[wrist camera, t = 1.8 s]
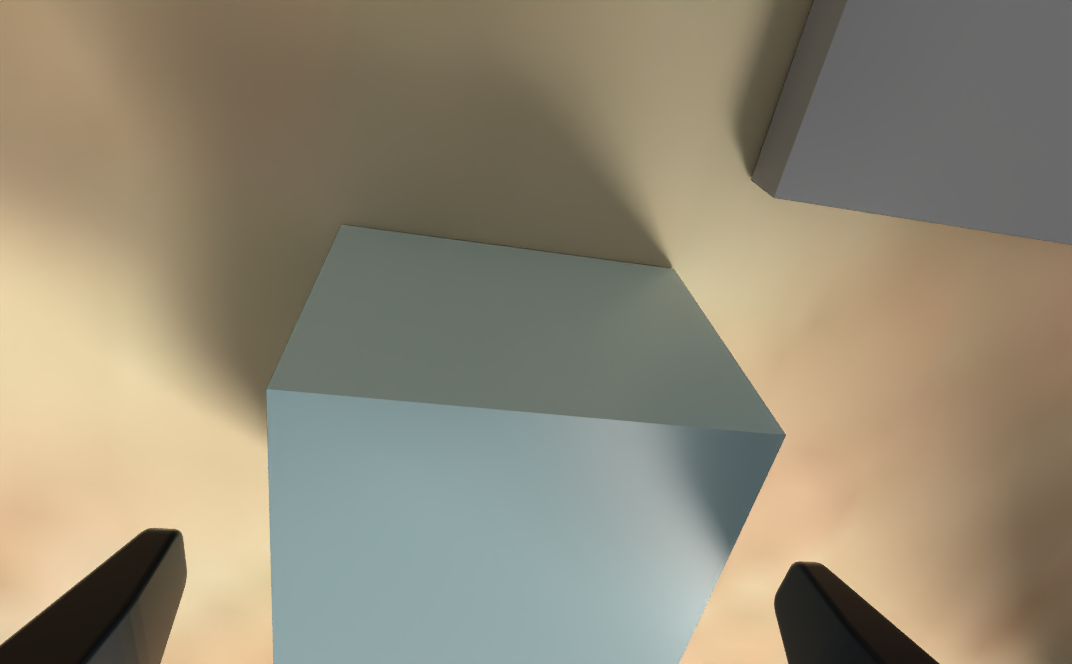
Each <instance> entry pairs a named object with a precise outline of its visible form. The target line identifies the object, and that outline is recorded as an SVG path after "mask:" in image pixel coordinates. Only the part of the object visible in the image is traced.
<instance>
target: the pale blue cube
mask: <svg viewBox="0 0 1072 664" xmlns="http://www.w3.org/2000/svg"><path fill="white" fill-rule="evenodd" d="M266 398H267V436H268V473H269V511H270V549H271V587H272V625H273V662H274V664H679V662H680V660H681V658H682V655H683V653H684V651H685V649H686V647H687V645H688V643H689V641H690V638H691V636H692V634H693V632H694V630H695V628H696V626H697V624H698V621H699V619H700V617H701V615H702V613H703V611H704V609H705V606H706V604H707V602H708V600H709V598H710V596H711V594H712V592H713V589H714V587H715V585H716V583H717V581H718V579H719V577H720V575H721V572H722V570H723V568H724V566H725V564H726V562H727V560H728V557H729V555H730V553H731V551H732V549H733V547H734V545H735V543H736V540H737V538H738V536H739V534H740V532H741V530H742V528H743V526H744V523H745V521H746V519H747V517H748V515H749V513H750V511H751V508H752V506H753V504H754V502H755V500H756V498H757V496H758V494H759V491H760V489H761V487H762V485H763V483H764V481H765V479H766V477H767V474H768V472H769V470H770V468H771V466H772V464H773V462H774V459H775V457H776V455H777V453H778V451H779V449H780V447H781V445H782V442H783V440H784V438H785V436H786V434H785V433H784V431H783V430H782V428H781V427H780V426H779V424H778V423H777V421H776V420H775V418H774V417H773V415H772V414H771V412H770V411H769V409H768V408H767V406H766V405H765V403H764V402H763V400H762V399H761V397H760V396H759V394H758V393H757V391H756V390H755V388H754V387H753V385H752V384H751V382H750V381H749V380H748V378H747V377H746V375H745V374H744V372H743V371H742V369H741V368H740V366H739V365H738V363H737V362H736V360H735V359H734V357H733V356H732V354H731V353H730V351H729V350H728V348H727V347H726V345H725V344H724V342H723V341H722V339H721V338H720V336H719V335H718V333H717V332H716V331H715V329H714V328H713V326H712V325H711V323H710V322H709V320H708V319H707V317H706V316H705V314H704V313H703V311H702V310H701V308H700V307H699V305H698V304H697V302H696V301H695V299H694V298H693V296H692V295H691V293H690V292H689V290H688V289H687V287H686V286H685V285H684V283H683V282H682V280H681V279H680V277H679V276H678V274H677V273H676V271H675V270H674V269H671V268H664V267H656V266H649V265H641V264H634V263H626V262H618V261H611V260H603V259H596V258H588V257H581V256H573V255H566V254H558V253H551V252H543V251H536V250H528V249H521V248H513V247H506V246H498V245H491V244H483V243H476V242H468V241H461V240H453V239H446V238H438V237H431V236H423V235H416V234H408V233H401V232H393V231H386V230H378V229H371V228H363V227H356V226H348V225H341V227H340V229H339V231H338V233H337V236H336V238H335V240H334V242H333V244H332V247H331V249H330V251H329V253H328V255H327V257H326V260H325V262H324V264H323V266H322V268H321V271H320V273H319V275H318V277H317V279H316V281H315V284H314V286H313V288H312V290H311V292H310V295H309V297H308V299H307V301H306V303H305V306H304V308H303V310H302V312H301V314H300V316H299V319H298V321H297V323H296V325H295V327H294V330H293V332H292V334H291V336H290V338H289V340H288V343H287V345H286V347H285V349H284V351H283V354H282V356H281V358H280V360H279V362H278V365H277V367H276V369H275V371H274V373H273V375H272V378H271V380H270V382H269V384H268V386H267V389H266Z"/></svg>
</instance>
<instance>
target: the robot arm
mask: <svg viewBox="0 0 1072 664" xmlns="http://www.w3.org/2000/svg"><path fill="white" fill-rule="evenodd" d="M186 577H187V567H186V559H185V551H184V542H183V536H182V533H181V532H180V531H179V530H176V529H163V528H149V529H146V530H144V531H143V532H141V533H140V534H139V535H137V536H136V537H135V538H134V539H132V540H131V541H130V542H129V543H127V544H126V545H125V546H124V547H122V548H121V549H120V550H119V551H117V552H116V553H115V554H114V555H112V556H111V557H110V558H109V559H107V560H106V561H105V562H104V563H102V564H101V565H100V566H99V567H97V568H96V569H95V570H94V571H92V572H91V573H90V574H89V575H87V576H86V577H85V578H84V579H82V580H81V581H80V582H79V583H77V584H76V585H75V586H74V587H72V588H71V589H70V590H69V591H67V592H66V593H65V594H64V595H62V596H61V597H60V598H59V599H57V600H56V601H55V602H54V603H52V604H51V605H50V606H49V607H47V608H46V609H45V610H44V611H42V612H41V613H40V614H39V615H37V616H36V617H35V618H34V619H32V620H31V621H30V622H29V623H27V624H26V625H25V626H24V627H22V628H21V629H20V630H19V631H17V632H16V633H15V634H14V635H12V636H11V637H10V638H9V639H7V640H6V641H5V642H4V643H2V644H1V645H0V664H160V663H161V660H162V657H163V654H164V650H165V647H166V644H167V641H168V638H169V635H170V632H171V629H172V625H173V622H174V619H175V616H176V613H177V610H178V607H179V604H180V600H181V597H182V594H183V591H184V588H185V583H186ZM774 607H775V613H776V617H777V621H778V625H779V629H780V633H781V637H782V641H783V644H784V648H785V652H786V656H787V660H788V664H939V663H938V662H937V661H936V660H935V659H933V658H932V657H931V656H930V655H929V654H927V653H926V652H925V651H924V650H923V649H922V648H920V647H919V646H918V645H917V644H916V643H915V642H913V641H912V640H911V639H910V638H909V637H908V636H906V635H905V634H904V633H903V632H902V631H900V630H899V629H898V628H897V627H896V626H895V625H893V624H892V623H891V622H890V621H889V620H888V619H886V618H885V617H884V616H883V615H882V614H881V613H879V612H878V611H877V610H876V609H875V608H873V607H872V606H871V605H870V604H869V603H868V602H866V601H865V600H864V599H863V598H862V597H861V596H859V595H858V594H857V593H856V592H855V591H854V590H852V589H851V588H850V587H849V586H848V585H846V584H845V583H844V582H843V581H842V580H841V579H839V578H838V577H837V576H836V575H835V574H834V573H832V572H831V571H830V570H829V569H828V568H827V567H825V566H824V565H822V564H820V563H816V562H795V563H794V564H792V565H791V567H790V569H789V570H788V572H787V574H786V576H785V578H784V580H783V582H782V583H781V585H780V587H779V589H778V591H777V593H776V595H775V600H774Z"/></svg>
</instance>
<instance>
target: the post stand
mask: <svg viewBox="0 0 1072 664" xmlns="http://www.w3.org/2000/svg"><path fill="white" fill-rule="evenodd" d="M751 180H752V181H753V182H754V183H755V184H757V185H758V186H759V187H761V188H762V189H763V190H764V191H766V192H767V193H768V194H770V195H771V196H772V197H773V198H778V199H785V200H791V201H797V202H804V203H810V204H816V205H823V206H829V207H835V208H842V209H848V210H854V211H861V212H867V213H873V214H880V215H886V216H892V217H899V218H905V219H911V220H918V221H924V222H930V223H937V224H943V225H949V226H956V227H962V228H968V229H975V230H981V231H987V232H994V233H1000V234H1006V235H1013V236H1019V237H1025V238H1032V239H1038V240H1044V241H1051V242H1057V243H1063V244H1070V245H1072V0H814V1H813V4H812V7H811V10H810V12H809V15H808V18H807V21H806V24H805V27H804V30H803V32H802V35H801V38H800V41H799V44H798V47H797V50H796V52H795V55H794V58H793V61H792V64H791V67H790V70H789V72H788V75H787V78H786V81H785V84H784V87H783V90H782V92H781V95H780V98H779V101H778V104H777V107H776V110H775V112H774V115H773V118H772V121H771V124H770V127H769V129H768V132H767V135H766V138H765V141H764V144H763V147H762V149H761V152H760V155H759V158H758V161H757V164H756V167H755V169H754V172H753V175H752V178H751Z"/></svg>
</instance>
